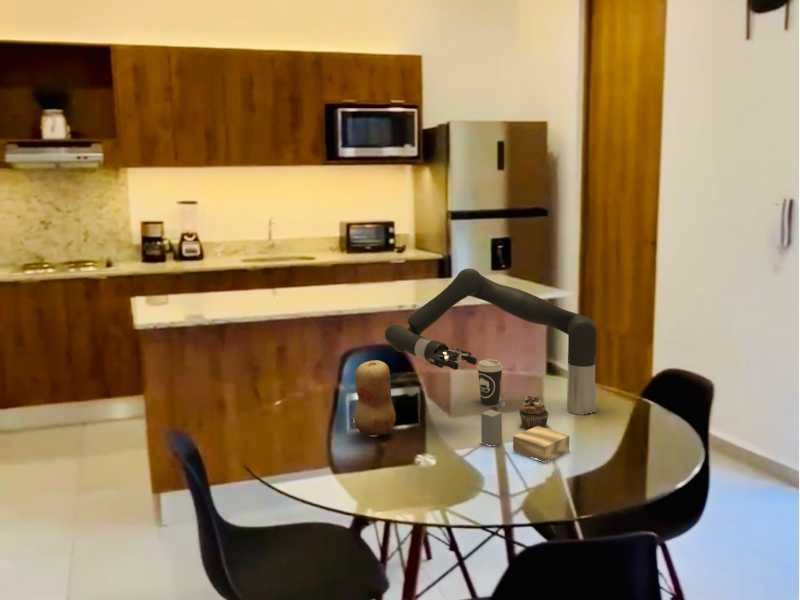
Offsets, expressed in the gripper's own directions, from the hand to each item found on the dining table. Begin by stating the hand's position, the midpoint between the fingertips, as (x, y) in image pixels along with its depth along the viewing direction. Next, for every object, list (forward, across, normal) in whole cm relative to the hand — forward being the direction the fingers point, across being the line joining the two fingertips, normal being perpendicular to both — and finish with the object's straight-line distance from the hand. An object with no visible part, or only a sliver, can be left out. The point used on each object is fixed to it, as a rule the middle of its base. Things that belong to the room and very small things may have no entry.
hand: (466, 364), depth 246 cm
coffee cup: (-13, +29, +24) cm, 40 cm away
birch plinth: (+28, +6, +21) cm, 35 cm away
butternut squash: (-19, -21, +26) cm, 38 cm away
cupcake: (+13, +21, +22) cm, 33 cm away
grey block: (+12, +1, +23) cm, 26 cm away
